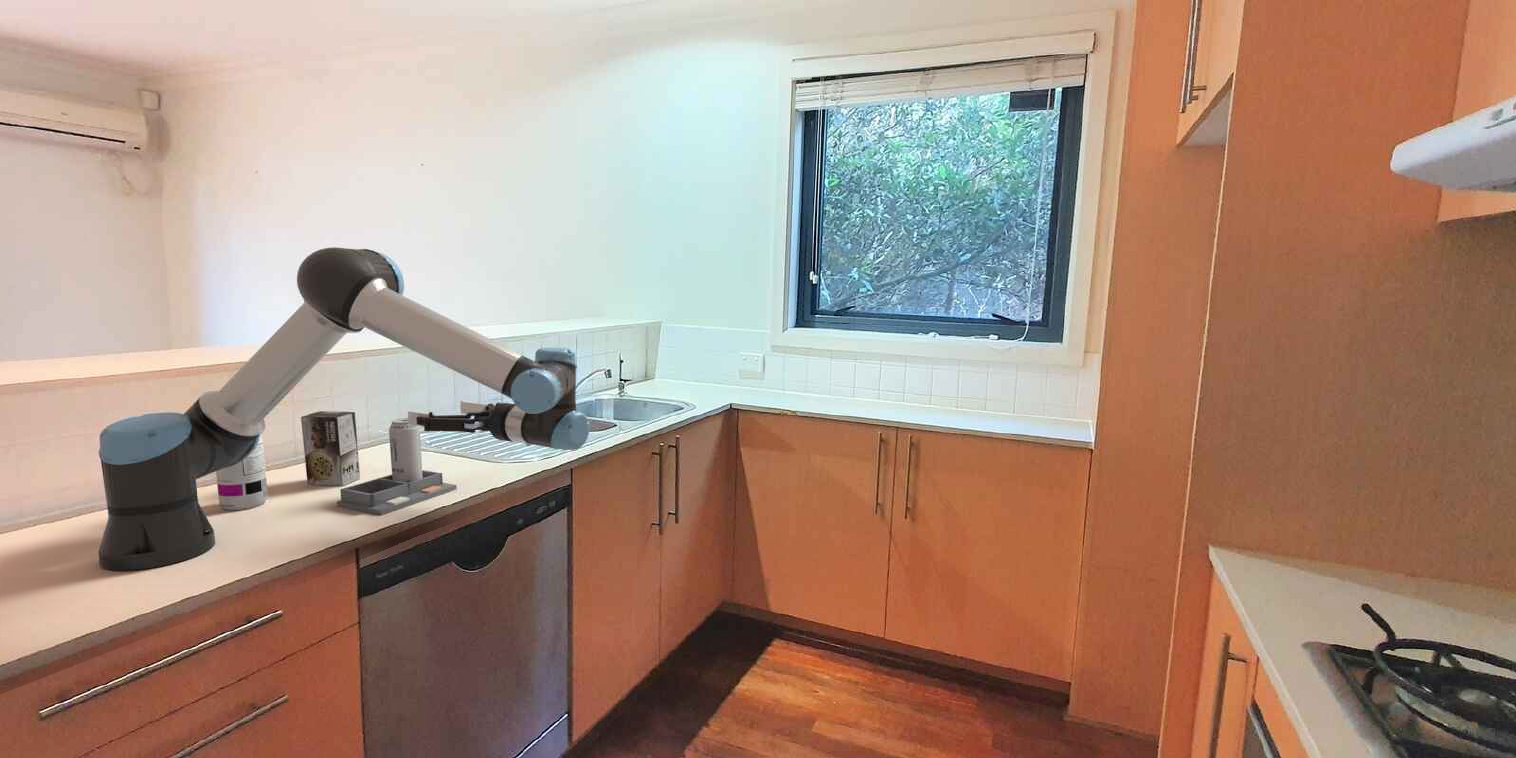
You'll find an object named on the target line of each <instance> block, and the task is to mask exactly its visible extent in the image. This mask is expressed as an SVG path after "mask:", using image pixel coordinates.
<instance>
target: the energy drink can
mask: <svg viewBox="0 0 1516 758" xmlns="http://www.w3.org/2000/svg"><path fill="white" fill-rule="evenodd" d="M420 427H421V426H416V425H409V424H408V417H406V418H396V419H393V420H391V424H390V427H389V428H388V431H389V433H388V435H389V446H390V447H389V448H390V451H389V452H390V466H391V475H392V480H394V481H400V482H406V483H409V482H412V481H416V480H419V479H422V478H423V477H422V470H423V465H422V464H423V463H422V448H421V447H422V446H421V444H422V443H421V430H420Z"/></svg>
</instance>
